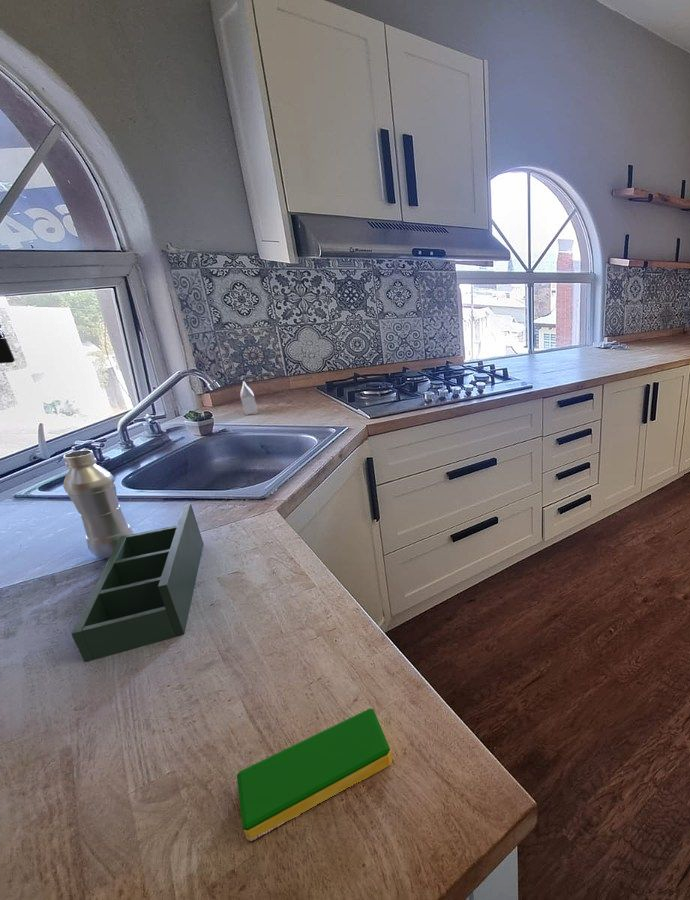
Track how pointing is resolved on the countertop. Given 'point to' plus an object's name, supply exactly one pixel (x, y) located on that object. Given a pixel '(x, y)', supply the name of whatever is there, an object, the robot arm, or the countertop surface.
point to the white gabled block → (248, 400)
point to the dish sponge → (311, 772)
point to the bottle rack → (142, 590)
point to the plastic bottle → (95, 502)
